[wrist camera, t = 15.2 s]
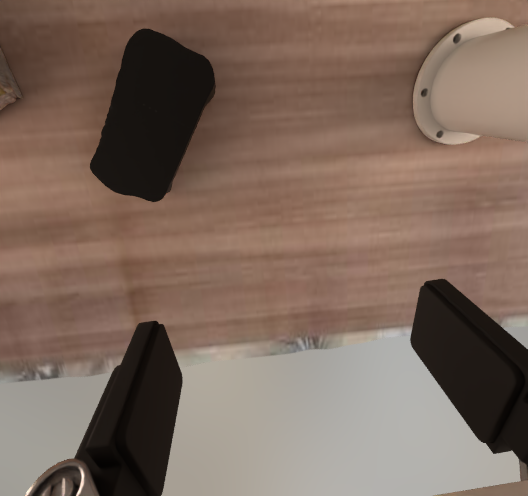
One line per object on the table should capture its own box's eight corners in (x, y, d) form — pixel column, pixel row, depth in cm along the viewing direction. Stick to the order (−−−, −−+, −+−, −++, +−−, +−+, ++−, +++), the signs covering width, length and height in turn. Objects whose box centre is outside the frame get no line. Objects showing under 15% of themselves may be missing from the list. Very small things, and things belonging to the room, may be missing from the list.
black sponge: (145, 24, 28) (133, 14, 24) (222, 75, 30) (221, 72, 27) (98, 170, 34) (83, 178, 30) (166, 202, 36) (159, 212, 33)
